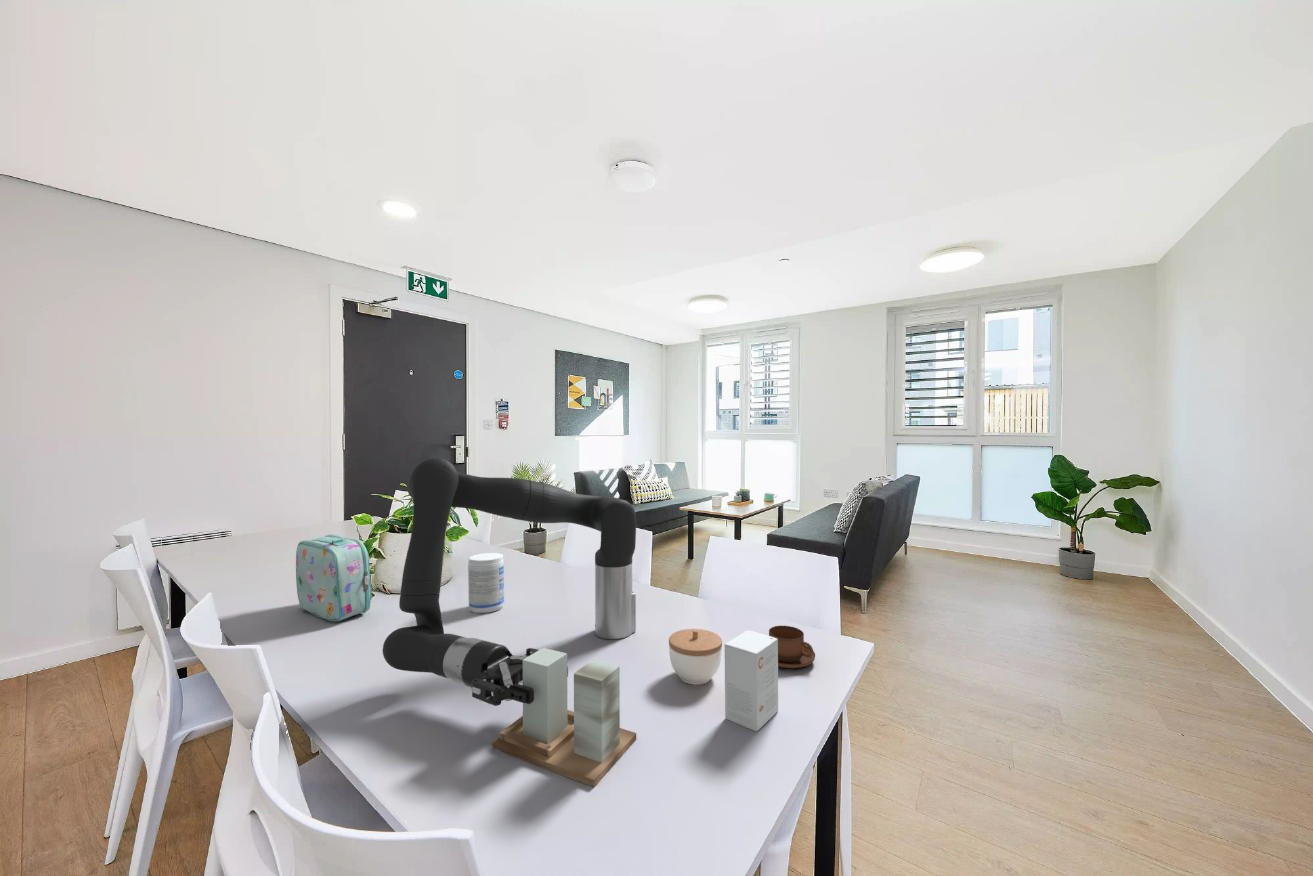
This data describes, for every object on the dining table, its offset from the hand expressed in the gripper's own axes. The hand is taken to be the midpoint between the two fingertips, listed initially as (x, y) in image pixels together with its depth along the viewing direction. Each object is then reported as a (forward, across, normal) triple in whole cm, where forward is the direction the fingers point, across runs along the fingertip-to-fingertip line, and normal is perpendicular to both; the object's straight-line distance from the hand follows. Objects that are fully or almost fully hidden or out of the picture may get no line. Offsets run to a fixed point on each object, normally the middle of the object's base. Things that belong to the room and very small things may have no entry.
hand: (550, 684), depth 79 cm
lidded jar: (+13, +29, +9) cm, 33 cm away
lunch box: (-90, +18, +9) cm, 92 cm away
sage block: (-1, 0, +8) cm, 8 cm away
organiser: (+4, 0, +9) cm, 9 cm away
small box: (+27, +21, +9) cm, 35 cm away
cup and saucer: (+28, +45, +9) cm, 54 cm away
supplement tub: (-55, +40, +9) cm, 68 cm away
